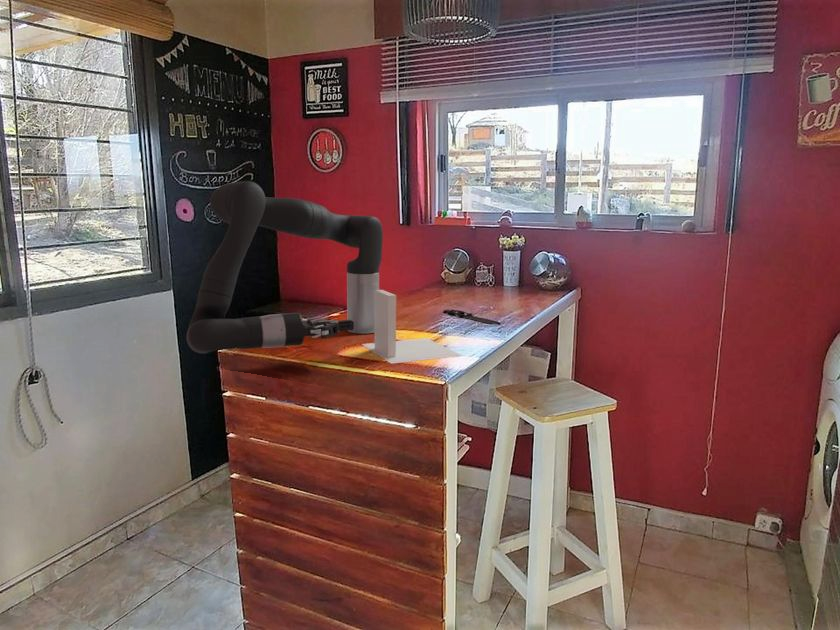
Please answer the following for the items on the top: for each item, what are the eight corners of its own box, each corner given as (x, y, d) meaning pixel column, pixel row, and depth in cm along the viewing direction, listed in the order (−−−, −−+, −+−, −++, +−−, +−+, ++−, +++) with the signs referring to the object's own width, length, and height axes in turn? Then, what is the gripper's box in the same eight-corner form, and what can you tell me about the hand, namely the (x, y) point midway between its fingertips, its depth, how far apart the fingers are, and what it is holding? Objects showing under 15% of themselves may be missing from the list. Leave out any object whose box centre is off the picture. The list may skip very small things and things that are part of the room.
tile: (374, 348, 153) (374, 290, 150) (382, 347, 154) (382, 289, 151) (387, 357, 145) (388, 295, 142) (395, 356, 146) (396, 295, 143)
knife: (504, 326, 189) (504, 321, 189) (488, 328, 186) (488, 323, 186) (455, 312, 210) (455, 308, 210) (440, 314, 206) (440, 309, 206)
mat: (361, 347, 158) (361, 344, 158) (426, 340, 166) (426, 338, 166) (390, 366, 140) (391, 363, 140) (462, 358, 148) (462, 355, 148)
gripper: (286, 319, 131) (362, 314, 138) (273, 309, 143) (343, 304, 150) (287, 353, 132) (362, 346, 140) (274, 340, 144) (344, 333, 151)
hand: (352, 324), depth 145 cm, fingers closed
